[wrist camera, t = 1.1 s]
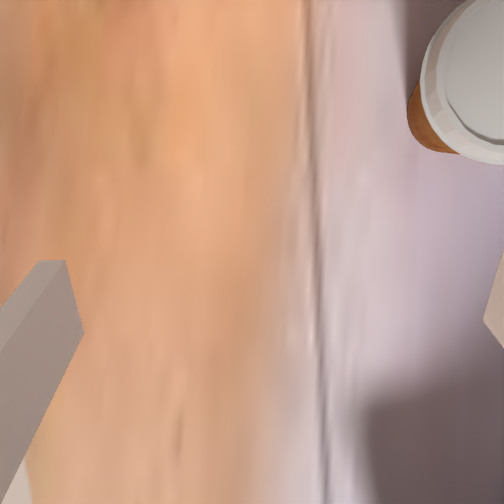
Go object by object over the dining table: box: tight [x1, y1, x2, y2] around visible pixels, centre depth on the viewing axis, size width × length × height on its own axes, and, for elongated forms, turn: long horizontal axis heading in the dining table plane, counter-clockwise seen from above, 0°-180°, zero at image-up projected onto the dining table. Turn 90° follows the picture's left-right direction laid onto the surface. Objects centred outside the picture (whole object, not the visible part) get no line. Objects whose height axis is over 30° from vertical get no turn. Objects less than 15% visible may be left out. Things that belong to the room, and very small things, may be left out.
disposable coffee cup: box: [407, 0, 504, 165], centre depth 28 cm, size 10×10×12 cm
